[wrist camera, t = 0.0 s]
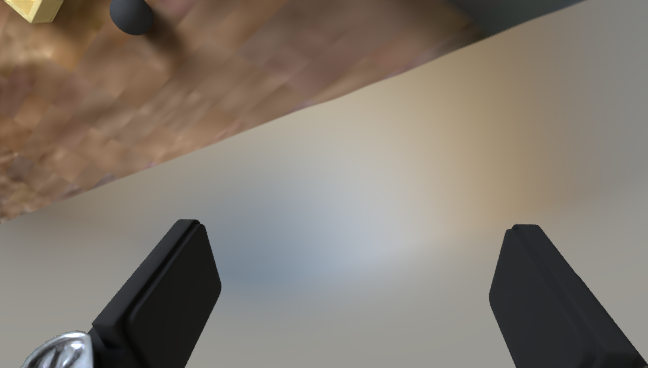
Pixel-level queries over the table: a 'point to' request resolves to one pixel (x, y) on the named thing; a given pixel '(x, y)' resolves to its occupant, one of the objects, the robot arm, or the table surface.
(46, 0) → the tray
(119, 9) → the ball
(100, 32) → the table surface
